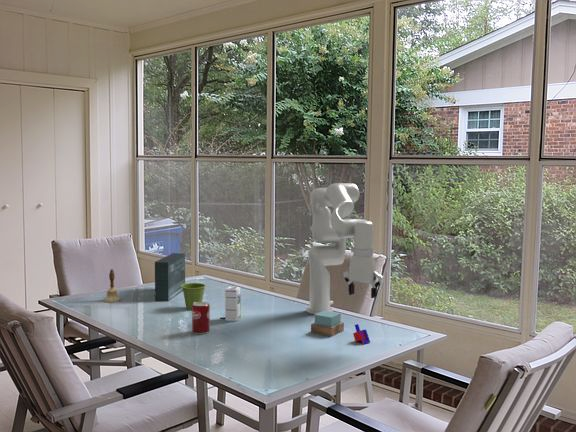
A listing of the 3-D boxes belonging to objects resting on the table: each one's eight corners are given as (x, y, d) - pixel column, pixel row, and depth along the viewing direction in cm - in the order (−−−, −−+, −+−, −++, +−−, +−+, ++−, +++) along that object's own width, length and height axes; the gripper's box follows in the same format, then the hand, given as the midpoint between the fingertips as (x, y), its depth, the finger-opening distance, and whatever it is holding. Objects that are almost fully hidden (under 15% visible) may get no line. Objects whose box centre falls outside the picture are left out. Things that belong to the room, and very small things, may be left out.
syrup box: (237, 321, 261) (237, 289, 260) (224, 320, 262) (224, 288, 261) (241, 318, 267) (241, 286, 265) (228, 317, 268) (228, 286, 267)
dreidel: (363, 344, 235) (357, 325, 237) (370, 342, 232) (363, 322, 234) (357, 346, 233) (350, 326, 235) (364, 343, 230) (357, 323, 232)
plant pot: (176, 309, 281) (176, 286, 279) (189, 304, 291) (189, 282, 290) (198, 312, 276) (197, 288, 275) (210, 306, 287) (210, 284, 286)
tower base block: (323, 328, 254) (323, 318, 254) (343, 331, 248) (343, 322, 248) (310, 333, 246) (311, 323, 245) (331, 337, 240) (331, 327, 240)
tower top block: (323, 319, 252) (323, 310, 252) (340, 322, 248) (340, 313, 247) (314, 324, 245) (314, 314, 245) (331, 327, 241) (331, 317, 241)
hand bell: (124, 300, 299) (123, 269, 298) (111, 303, 292) (110, 271, 291) (113, 297, 304) (112, 267, 302) (100, 301, 297) (99, 269, 295)
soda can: (195, 335, 240) (195, 306, 239) (189, 330, 246) (189, 302, 245) (212, 333, 243) (212, 304, 242) (206, 328, 250) (206, 300, 248)
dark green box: (173, 288, 327) (172, 253, 325) (185, 289, 326) (185, 253, 324) (155, 301, 298) (154, 262, 296) (168, 301, 297) (168, 262, 296)
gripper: (339, 252, 232) (338, 294, 233) (379, 255, 222) (378, 300, 224) (348, 249, 238) (347, 291, 240) (387, 253, 228) (386, 297, 230)
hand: (362, 295), depth 232 cm, fingers open, 9 cm apart
